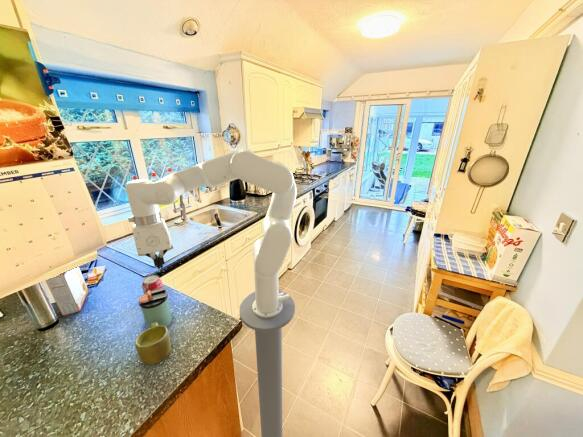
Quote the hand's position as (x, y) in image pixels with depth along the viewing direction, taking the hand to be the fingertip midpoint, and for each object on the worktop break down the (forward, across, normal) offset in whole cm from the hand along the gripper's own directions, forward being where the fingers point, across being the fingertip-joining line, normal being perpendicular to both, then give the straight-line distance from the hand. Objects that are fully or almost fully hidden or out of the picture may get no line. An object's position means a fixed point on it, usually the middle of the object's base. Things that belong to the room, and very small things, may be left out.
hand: (160, 266), depth 83 cm
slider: (+12, -7, 0) cm, 14 cm away
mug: (+24, -6, -13) cm, 28 cm away
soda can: (+24, -6, +13) cm, 28 cm away
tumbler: (+24, -5, 0) cm, 24 cm away
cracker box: (+23, -36, +28) cm, 51 cm away
